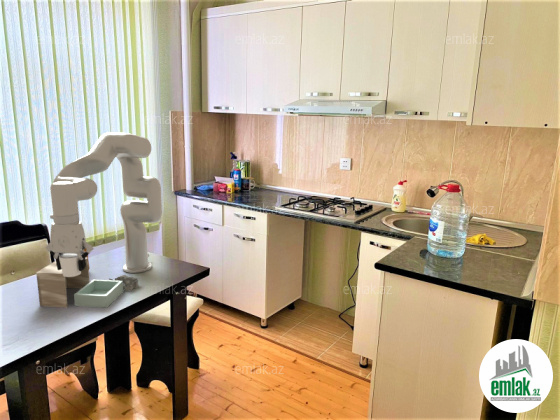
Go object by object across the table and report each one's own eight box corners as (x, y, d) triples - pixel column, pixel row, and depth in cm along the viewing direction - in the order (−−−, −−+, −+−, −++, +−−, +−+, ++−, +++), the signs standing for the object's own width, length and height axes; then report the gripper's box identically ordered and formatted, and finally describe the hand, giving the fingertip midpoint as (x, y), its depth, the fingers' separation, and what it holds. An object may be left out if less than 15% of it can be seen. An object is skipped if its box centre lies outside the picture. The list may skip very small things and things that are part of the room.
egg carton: (107, 288, 167) (107, 278, 166) (121, 281, 174) (121, 272, 173) (128, 292, 163) (127, 283, 162) (141, 286, 169) (140, 276, 168)
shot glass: (74, 278, 137) (72, 258, 135) (56, 276, 138) (53, 256, 136) (87, 271, 143) (85, 252, 141) (70, 269, 144) (68, 250, 143)
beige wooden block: (66, 286, 166) (63, 256, 163) (90, 288, 165) (87, 257, 162) (39, 305, 149) (36, 272, 146) (66, 307, 149) (63, 273, 146)
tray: (94, 289, 164) (93, 279, 163) (123, 291, 163) (122, 280, 162) (75, 305, 150) (74, 294, 149) (107, 307, 150) (106, 296, 149)
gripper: (34, 220, 133) (40, 272, 137) (86, 222, 132) (91, 274, 136) (48, 214, 140) (53, 264, 144) (97, 217, 139) (101, 266, 143)
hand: (71, 268), depth 140 cm, fingers closed on shot glass, 6 cm apart
